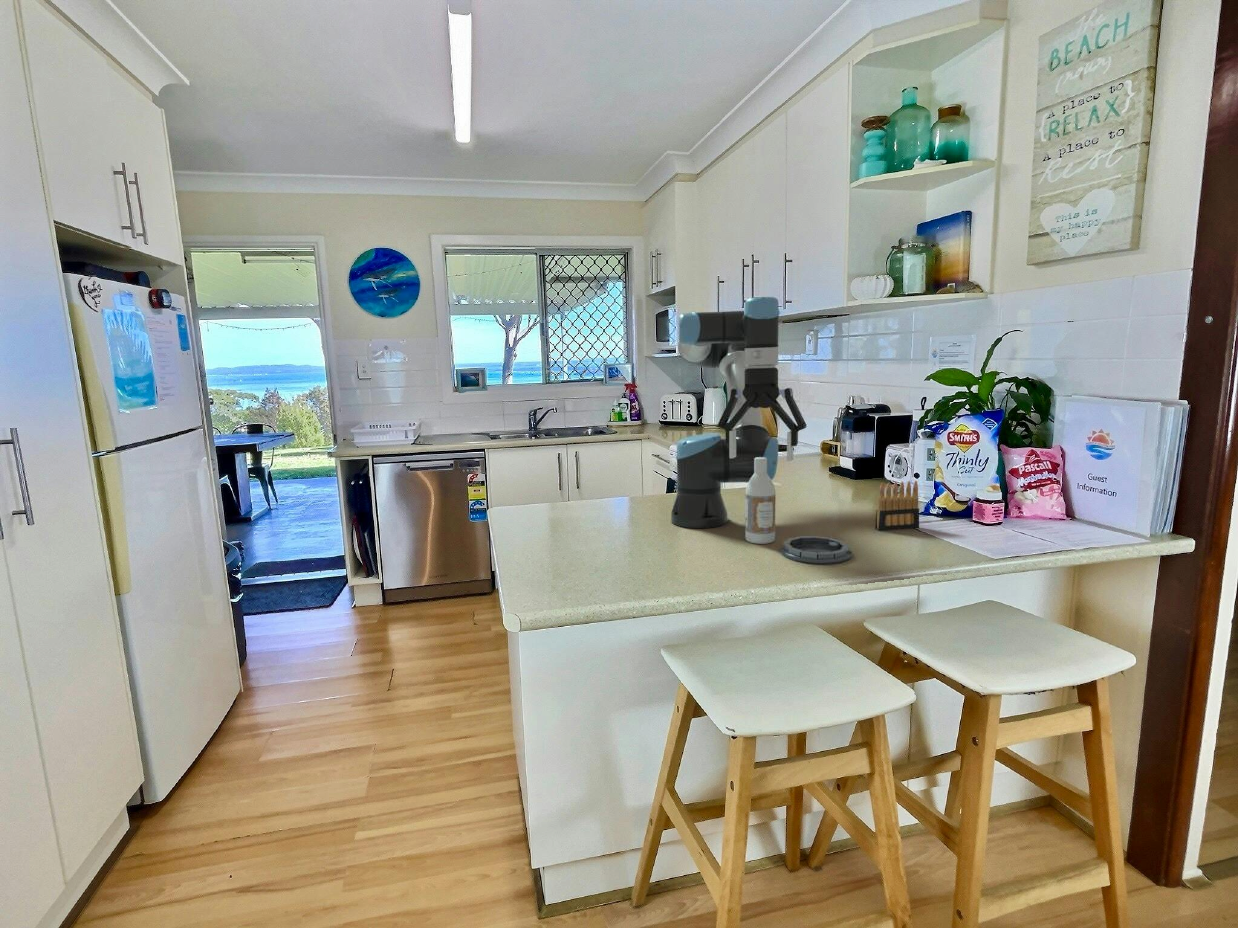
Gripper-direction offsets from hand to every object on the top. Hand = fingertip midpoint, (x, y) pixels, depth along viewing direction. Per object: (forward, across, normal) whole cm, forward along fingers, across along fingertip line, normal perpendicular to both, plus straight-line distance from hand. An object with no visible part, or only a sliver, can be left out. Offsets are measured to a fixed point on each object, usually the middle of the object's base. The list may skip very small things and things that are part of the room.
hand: (760, 459), depth 145 cm
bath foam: (+20, 0, 0) cm, 20 cm away
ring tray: (+20, +14, -5) cm, 25 cm away
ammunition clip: (+20, +28, +23) cm, 41 cm away
